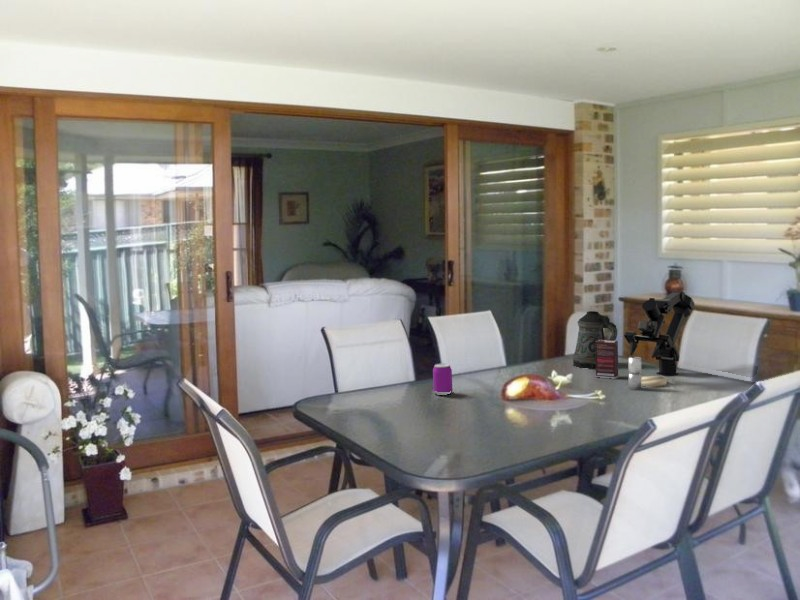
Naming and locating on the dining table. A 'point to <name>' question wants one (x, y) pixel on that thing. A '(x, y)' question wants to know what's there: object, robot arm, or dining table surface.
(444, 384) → the beverage can
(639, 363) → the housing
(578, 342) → the beer stein
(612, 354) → the supplement box
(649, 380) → the birch stand
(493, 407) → the dining table surface
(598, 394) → the dining table surface
